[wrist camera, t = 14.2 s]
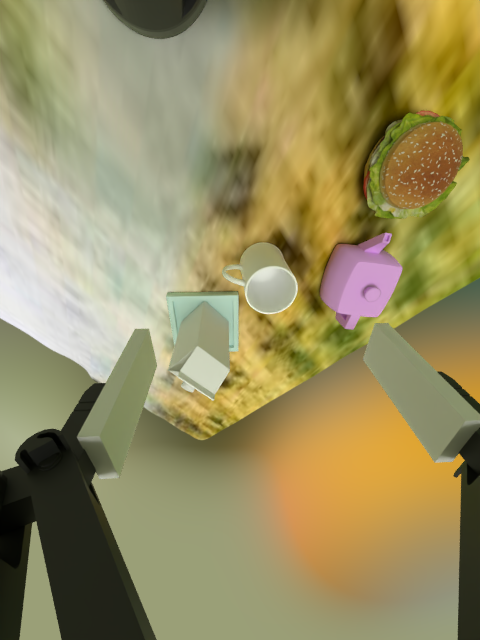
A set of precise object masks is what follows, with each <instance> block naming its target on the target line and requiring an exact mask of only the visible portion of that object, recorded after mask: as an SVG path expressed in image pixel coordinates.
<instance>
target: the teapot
mask: <svg viewBox="0 0 480 640" xmlns="http://www.w3.org/2000/svg"><path fill="white" fill-rule="evenodd" d="M391 236H392V234H389V233H383V234H381V235H379V236H376V237H374V238H372V239H370V240H367V241H365V242H363V243H361V244H359V245H351V244H338V245H336V247H335V248H334V250H333V252H332V254H331V257H330V259H329V261H328V264H327V266H326V269H325V272H324V275H323V279H322V283H321V287H320V296H321V299H322V300H323V301H324V302H325V303H326V304H327V305H328V306H329V307H330V308H331V309H333V310H334V311H336V319H337V321H338V322H339V323H340V324H341V325H342V326H343V327H344V328H345V329H354V327H355V325H356V323H357V322H358V320H359V318H360V316H366V317H378V316H379V315H380V313H381V312H382V310H383V309H384V307H385V306H386V304H387V302H388V300H389V299H390V297H391V295H392V293H393V291H394V289H395V287H396V284H397V282H398V280H399V277H400V275H401V272H402V266H401V265H400V264H399V263H398V261H397V260H396V259H395V258H394V257H393V256H392V255H390V254H389V253H388V252H386V251H384V250H382V249H383V248H384V247H385V246H386V245H387V244H388V243H389V242H390V239H391Z"/></svg>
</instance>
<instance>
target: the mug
mask: <svg viewBox="0 0 480 640" xmlns="http://www.w3.org/2000/svg"><path fill="white" fill-rule="evenodd" d="M230 269H239V270H240V271H241V274H242V277H243V280H241V279H237V278H234V277H232V276H230V275H228V274H227V273H226V272H225V271H227V270H230ZM222 274H223V276H224V277H225V278H226V279H227V280H229V281H230V282H233V283H235V284H238V285H241V286H244V291H245V297H246V300H247V302H248V304H249V305H250V306H251V307H252V308H253V309H254V310H256V311H258V312H260V313H264V314H275V313H278V312H281V311H283V310H285V309H286V308H288V307H289V306H290V305H291V304H292V302H293V301H294V299H295V297H296V295H297V290H298V286H297V281H296V279H295V277H294V275H293V273H292V272H291V270H290V268H289V267H288V265H287V263H286V262H285V260H284V257H283V254H282V252H281V251H280V250H279V249H278V248H277V247H276V246H275V245H273V244H271V243H266V242H260V243H256V244H253V245H251V246H250V247H248V248H247V249H246V250H245V251H244V253H243V254H242V256H241V259H240V264H233V265H227V266H225V267H224V268H223V270H222Z"/></svg>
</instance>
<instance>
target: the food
mask: <svg viewBox="0 0 480 640" xmlns="http://www.w3.org/2000/svg"><path fill="white" fill-rule="evenodd" d="M461 131H462V130H461V129H459V128H458V127H457V125H455V124H454V120H452V119H451V118H449V117H444V116H439V115H438V114H436V113H433V112H431V111H420V112H417V113H415V114H412V113H408V114H407V115H406V116H405V117H404V118H403V119H402V120H398V121H395V122H393V123H392V124H391V125H389V126H388V127H387V129H386V131H385V135H384V136H383V137H382V138H381V139H380V140H379V141H378V143H377V144H376V146H375V147H374V149H373V150H372V152H371V153H370V155H369V158H368V160H367V163H366V165H365V170H364V185H363V190H364V195H365V197H366V199H367V203H368V206H369V208H371V209H372V210H374V211H376V213H375V216H377V217H384V218H398V219H401V218H407V217H409V216H415V217H423V216H425V215H427V214H428V213H429V212H431V211H432V210H434V209H435V208H436V207H437V206H438V205H439V204H440V203H441V202H442V201H443V200H445V199H446V198H447V196H448V195H449V193H450V192H451V191H452V190H453V189H454V187H455V186H456V184H457V183H456V182H454V181H453V180H454V178H455V176H456V174H457V172H458V171H459V170H460V169H461V168H462V167H463V166H464V165H465V164H466V163H467V162H468V161H469V158H468V157H463V156H462V155H463V145H462V141H461Z"/></svg>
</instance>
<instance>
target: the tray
mask: <svg viewBox="0 0 480 640" xmlns="http://www.w3.org/2000/svg"><path fill="white" fill-rule="evenodd" d="M166 298H167V304H168V310H169V316H170V322H171V328H172V334H173V340H174V346H175V343H176V339H177V336H178V332H179V328H180V325H181V322H182V321H183V320H184V319H185V318H186V317H187V316H188V315H189V314H190V313H191V312H192V311H194V310H195V309H196V308H197V307H198V306H199V305H200V304H201V303H202V302H204V301H205V302H207V303H208V304H209V305H210V306H211V307H212V308H214V309H215V310H216V311H217V312H218V313H219V314H221V315H222V316H223V317H224V318H225V319H226V320H227V321H228V322H229V351H238V291H230V292H173V293H168V294H167V296H166Z"/></svg>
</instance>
